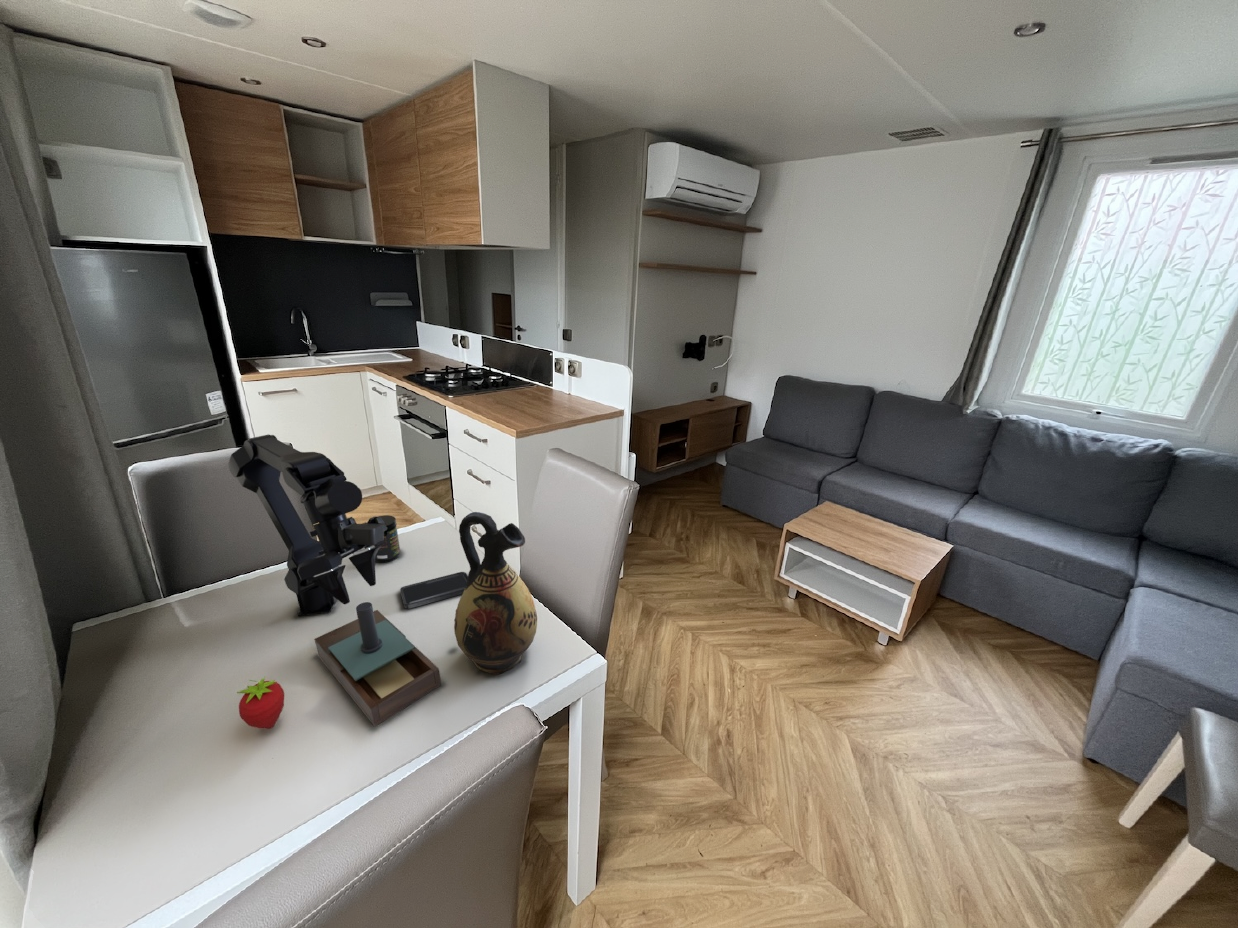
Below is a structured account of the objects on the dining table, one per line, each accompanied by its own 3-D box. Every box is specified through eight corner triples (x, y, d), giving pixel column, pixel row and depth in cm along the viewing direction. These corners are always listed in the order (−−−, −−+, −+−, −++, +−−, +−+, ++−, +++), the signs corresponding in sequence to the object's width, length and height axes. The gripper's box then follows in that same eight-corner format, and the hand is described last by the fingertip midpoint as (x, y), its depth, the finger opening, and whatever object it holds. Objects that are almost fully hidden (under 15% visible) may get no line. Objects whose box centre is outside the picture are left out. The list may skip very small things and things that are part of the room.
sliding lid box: (318, 656, 95) (314, 638, 94) (380, 626, 104) (377, 609, 102) (374, 726, 81) (370, 707, 79) (441, 684, 89) (438, 666, 88)
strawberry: (244, 753, 76) (227, 703, 72) (251, 716, 82) (236, 669, 79) (289, 738, 78) (275, 689, 75) (293, 703, 85) (280, 657, 81)
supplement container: (403, 548, 133) (398, 514, 130) (398, 561, 127) (392, 526, 123) (376, 551, 132) (370, 516, 128) (370, 564, 126) (363, 528, 122)
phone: (472, 587, 115) (404, 605, 108) (473, 591, 116) (405, 609, 109) (464, 570, 122) (399, 586, 115) (465, 574, 122) (400, 590, 115)
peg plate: (328, 648, 91) (318, 606, 88) (386, 620, 99) (379, 580, 95) (355, 681, 84) (345, 636, 80) (415, 648, 91) (409, 606, 88)
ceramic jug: (551, 637, 102) (546, 506, 91) (517, 693, 88) (507, 546, 77) (477, 621, 106) (465, 494, 95) (434, 672, 92) (414, 530, 82)
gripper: (338, 516, 84) (373, 599, 85) (391, 496, 102) (419, 565, 104) (279, 537, 85) (315, 619, 86) (343, 514, 103) (371, 581, 105)
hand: (360, 593), depth 95 cm, fingers open, 9 cm apart
